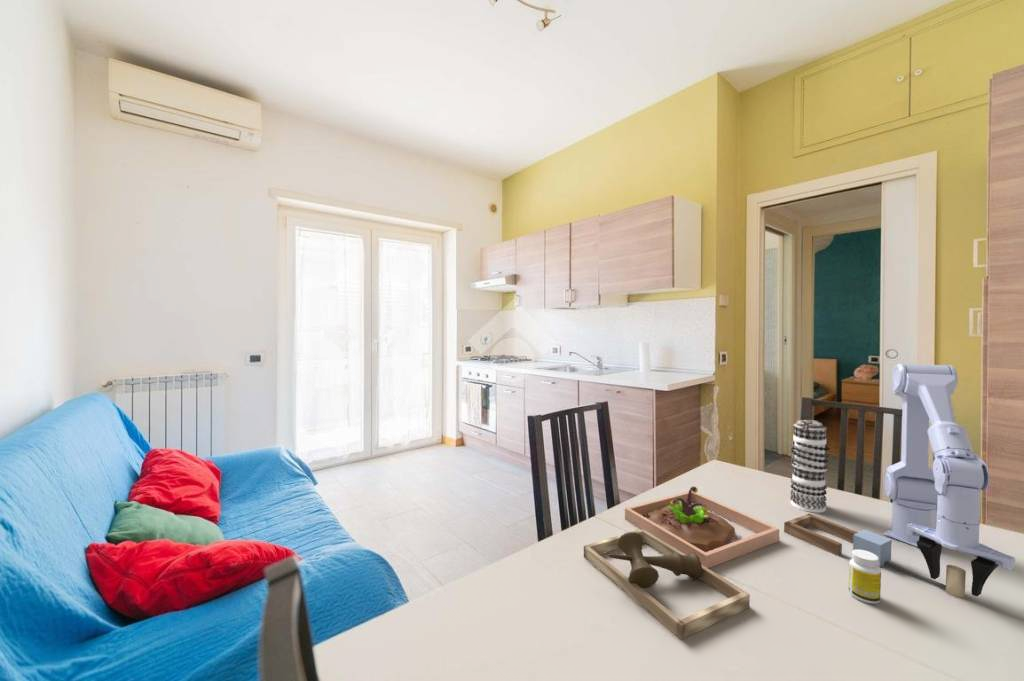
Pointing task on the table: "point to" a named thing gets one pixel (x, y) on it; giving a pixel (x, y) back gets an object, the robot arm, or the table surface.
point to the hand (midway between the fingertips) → (955, 585)
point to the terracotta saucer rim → (726, 552)
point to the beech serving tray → (679, 627)
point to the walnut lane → (798, 530)
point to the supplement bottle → (864, 576)
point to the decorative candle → (809, 466)
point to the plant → (694, 523)
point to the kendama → (654, 562)
